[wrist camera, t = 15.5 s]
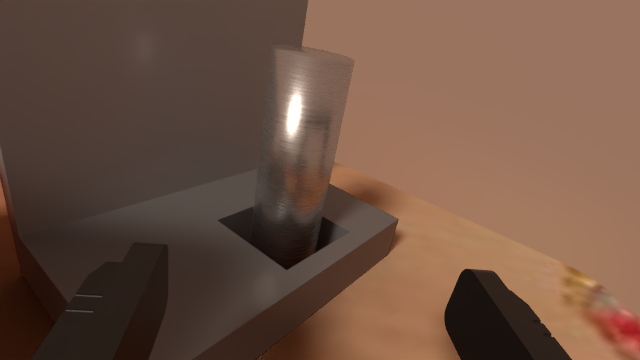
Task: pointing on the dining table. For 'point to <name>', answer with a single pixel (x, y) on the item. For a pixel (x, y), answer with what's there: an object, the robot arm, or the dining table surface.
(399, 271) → the dining table surface
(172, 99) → the grey l-shaped stand
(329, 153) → the rod
